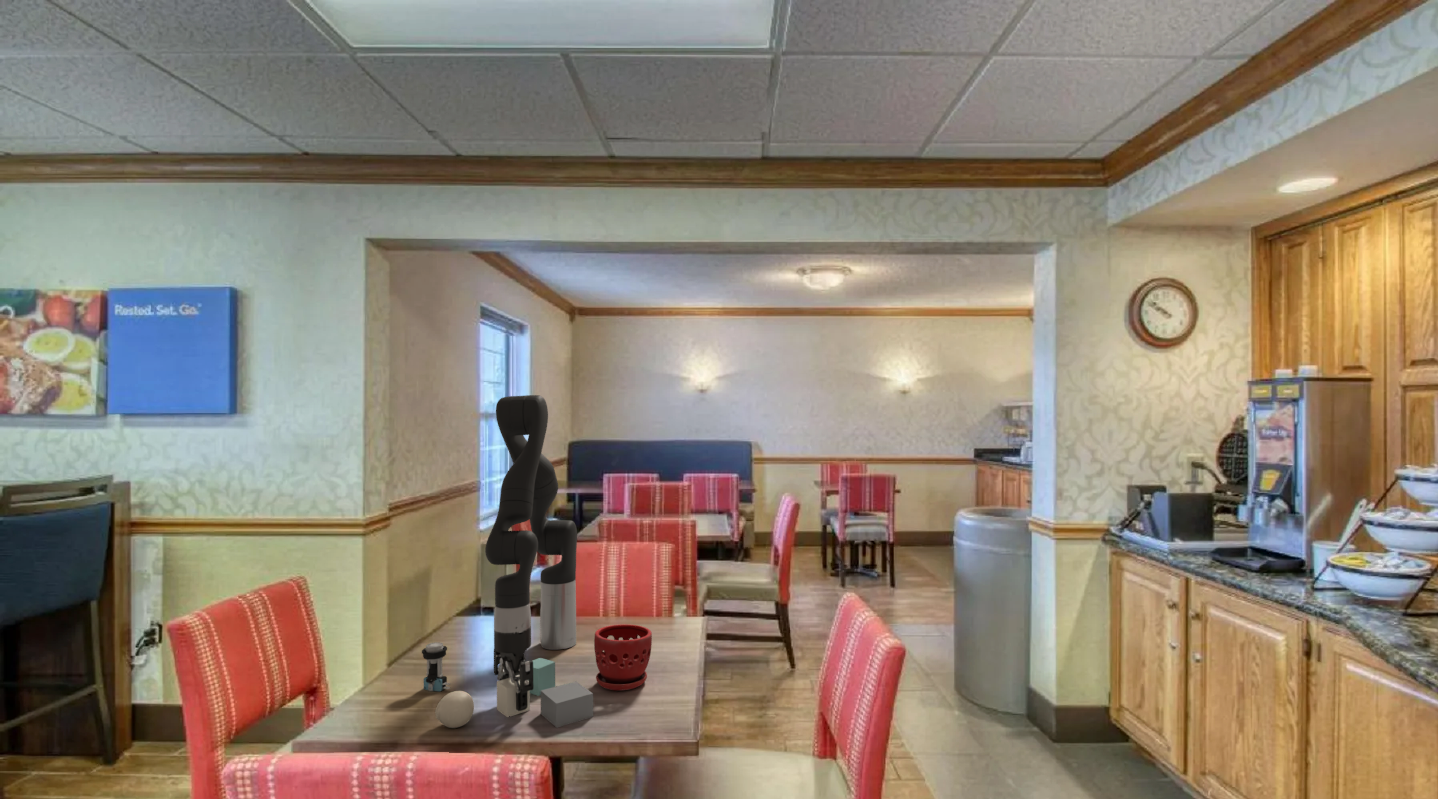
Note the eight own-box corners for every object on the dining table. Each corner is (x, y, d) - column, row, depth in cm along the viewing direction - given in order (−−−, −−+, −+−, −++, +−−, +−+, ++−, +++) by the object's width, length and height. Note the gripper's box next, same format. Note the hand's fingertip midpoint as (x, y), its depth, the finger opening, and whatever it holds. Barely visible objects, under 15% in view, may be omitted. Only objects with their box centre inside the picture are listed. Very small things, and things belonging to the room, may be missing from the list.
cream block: (497, 709, 147) (496, 681, 147) (519, 703, 151) (519, 675, 151) (507, 717, 144) (507, 688, 144) (529, 710, 147) (529, 681, 147)
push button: (457, 686, 160) (457, 642, 160) (441, 695, 155) (441, 650, 155) (432, 683, 162) (432, 640, 162) (416, 692, 157) (416, 647, 157)
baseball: (438, 720, 142) (438, 687, 142) (475, 716, 144) (475, 684, 144) (432, 735, 136) (432, 701, 136) (471, 731, 137) (471, 697, 137)
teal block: (523, 691, 157) (522, 664, 157) (540, 683, 161) (539, 657, 161) (538, 696, 154) (538, 668, 154) (555, 688, 158) (555, 661, 158)
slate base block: (540, 714, 145) (540, 690, 145) (576, 704, 150) (576, 681, 150) (556, 728, 139) (556, 703, 139) (593, 717, 143) (592, 693, 143)
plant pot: (627, 699, 152) (627, 644, 152) (582, 687, 159) (582, 634, 159) (663, 679, 163) (662, 627, 163) (619, 668, 170) (619, 619, 170)
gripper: (481, 621, 150) (481, 698, 150) (510, 637, 139) (511, 720, 139) (514, 614, 155) (514, 688, 155) (545, 629, 144) (545, 709, 144)
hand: (513, 703), depth 147 cm, fingers open, 7 cm apart
